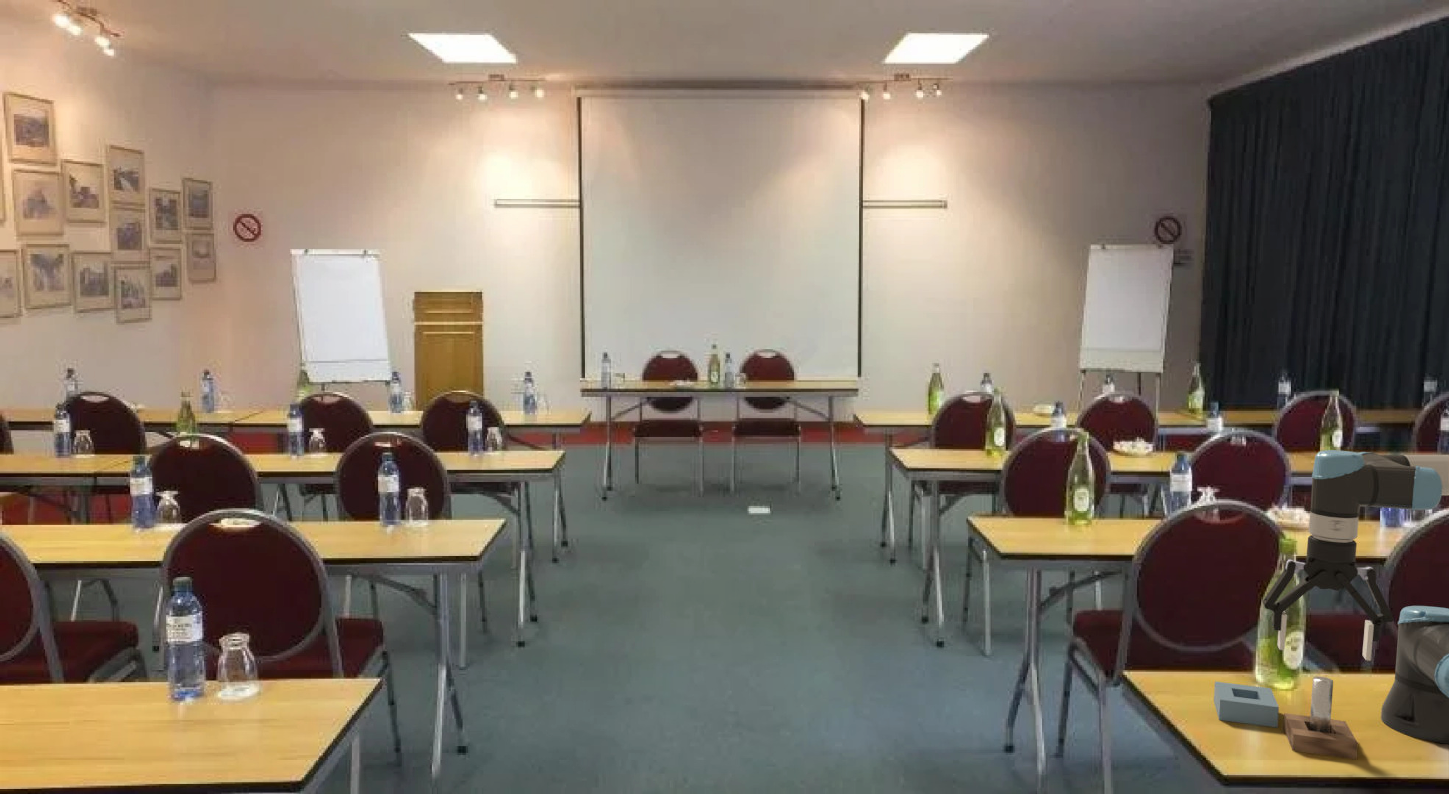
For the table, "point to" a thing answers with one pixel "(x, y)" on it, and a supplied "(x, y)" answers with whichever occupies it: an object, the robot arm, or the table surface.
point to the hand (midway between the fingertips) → (1323, 653)
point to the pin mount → (1320, 737)
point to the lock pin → (1321, 704)
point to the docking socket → (1246, 704)
